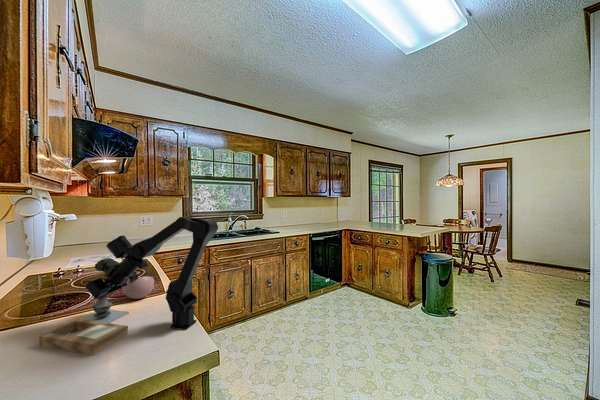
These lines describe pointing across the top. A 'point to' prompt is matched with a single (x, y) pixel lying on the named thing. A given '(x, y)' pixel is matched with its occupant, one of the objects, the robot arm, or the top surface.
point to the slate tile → (107, 319)
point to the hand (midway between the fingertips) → (99, 296)
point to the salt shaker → (102, 307)
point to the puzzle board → (84, 336)
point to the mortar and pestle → (139, 287)
